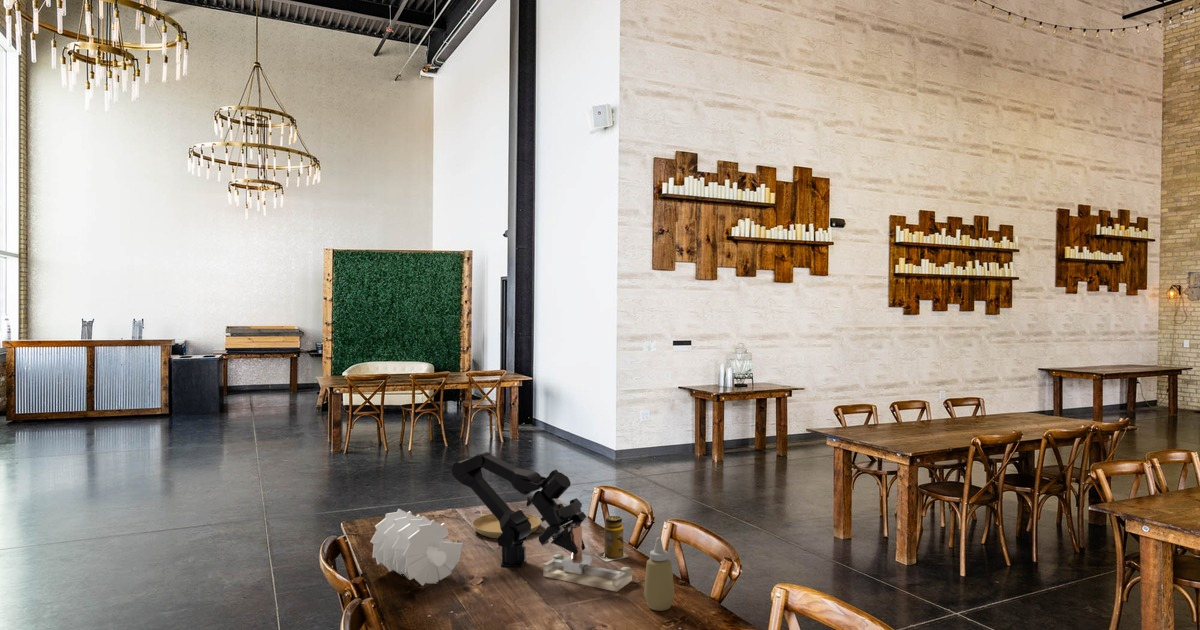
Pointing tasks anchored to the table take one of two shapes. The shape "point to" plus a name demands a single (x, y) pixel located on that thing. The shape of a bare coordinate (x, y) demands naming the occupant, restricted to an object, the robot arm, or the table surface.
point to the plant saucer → (491, 525)
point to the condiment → (613, 539)
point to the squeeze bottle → (659, 579)
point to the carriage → (578, 560)
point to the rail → (589, 575)
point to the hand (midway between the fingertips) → (580, 551)
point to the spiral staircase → (415, 547)
